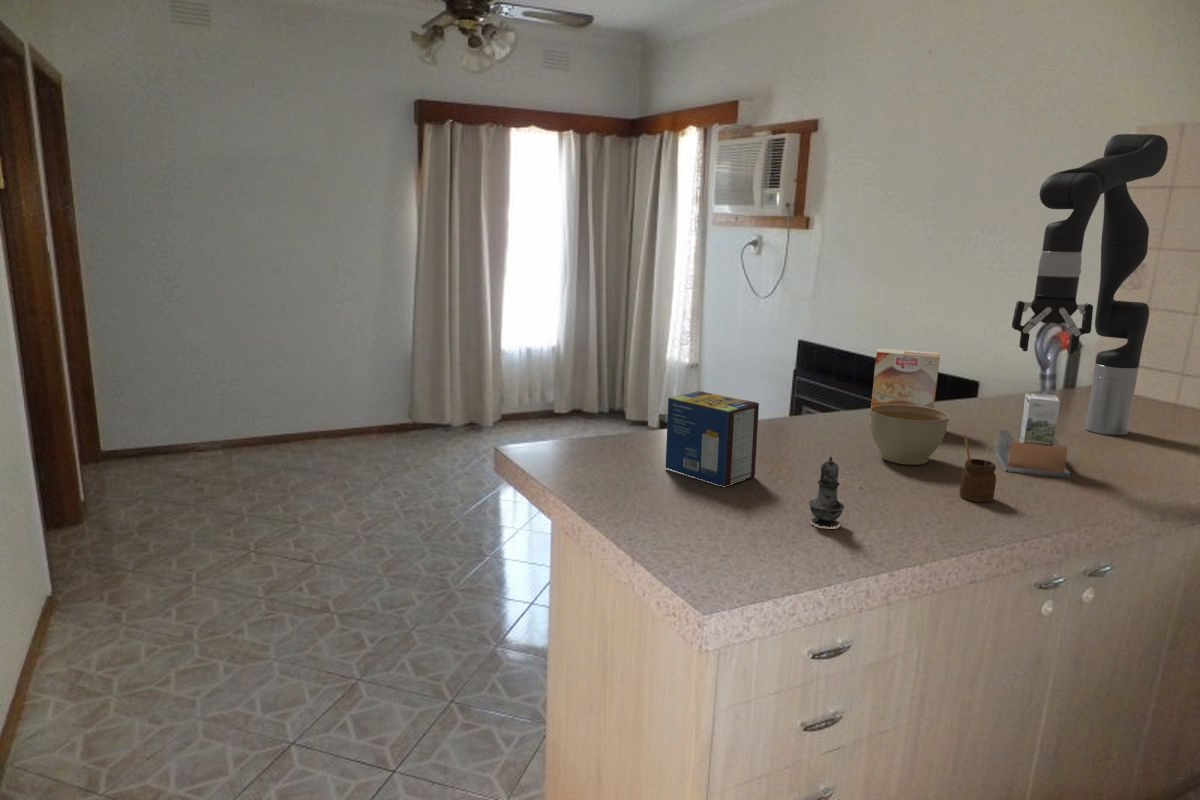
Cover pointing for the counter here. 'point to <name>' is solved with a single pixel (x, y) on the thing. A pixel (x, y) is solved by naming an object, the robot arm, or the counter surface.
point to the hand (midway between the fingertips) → (1047, 352)
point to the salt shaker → (827, 497)
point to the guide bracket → (1032, 456)
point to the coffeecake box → (905, 378)
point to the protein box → (712, 437)
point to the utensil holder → (978, 478)
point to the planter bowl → (907, 432)
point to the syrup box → (1039, 418)
